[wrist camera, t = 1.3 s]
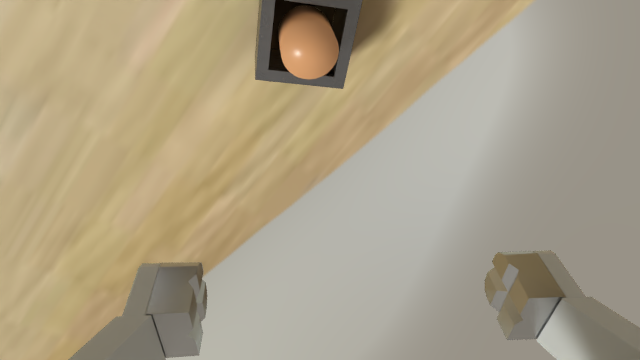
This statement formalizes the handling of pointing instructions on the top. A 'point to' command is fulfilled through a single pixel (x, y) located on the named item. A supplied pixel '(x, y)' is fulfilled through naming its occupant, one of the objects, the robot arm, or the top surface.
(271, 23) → the dark grey open box
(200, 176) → the top surface
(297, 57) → the brown egg
